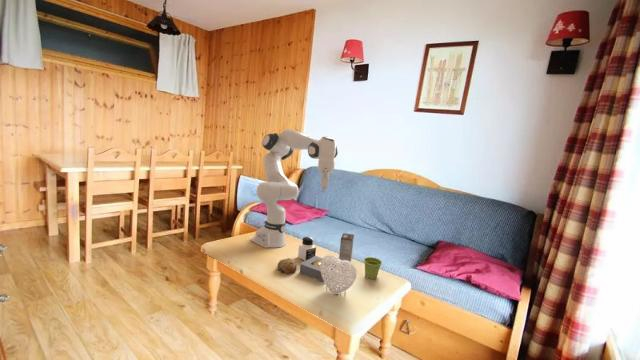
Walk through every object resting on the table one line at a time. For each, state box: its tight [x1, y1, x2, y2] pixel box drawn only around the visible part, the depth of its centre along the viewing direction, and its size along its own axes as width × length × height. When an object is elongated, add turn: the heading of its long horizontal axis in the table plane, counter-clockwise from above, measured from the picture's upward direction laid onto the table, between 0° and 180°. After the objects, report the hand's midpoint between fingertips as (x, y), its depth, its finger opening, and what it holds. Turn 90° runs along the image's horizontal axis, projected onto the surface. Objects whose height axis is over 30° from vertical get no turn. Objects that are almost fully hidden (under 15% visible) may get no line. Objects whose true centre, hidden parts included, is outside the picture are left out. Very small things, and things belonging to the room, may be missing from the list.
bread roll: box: [276, 258, 298, 275], centre depth 162 cm, size 10×10×8 cm
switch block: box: [299, 255, 336, 283], centre depth 162 cm, size 14×14×5 cm
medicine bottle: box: [297, 236, 317, 262], centre depth 178 cm, size 7×7×12 cm
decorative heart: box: [320, 254, 357, 298], centre depth 142 cm, size 18×11×17 cm, turn 53°
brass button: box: [313, 261, 321, 267], centre depth 162 cm, size 6×6×4 cm
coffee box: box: [338, 232, 355, 266], centre depth 175 cm, size 9×6×16 cm
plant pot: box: [363, 256, 383, 280], centre depth 163 cm, size 9×9×9 cm
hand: (323, 191), depth 174 cm, fingers closed
